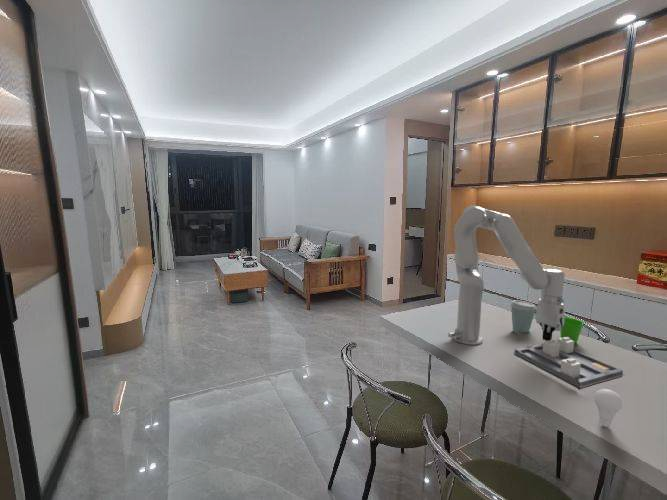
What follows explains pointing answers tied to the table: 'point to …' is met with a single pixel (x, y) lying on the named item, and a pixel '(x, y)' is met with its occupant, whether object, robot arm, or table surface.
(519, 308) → the disposable coffee cup
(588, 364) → the switch board
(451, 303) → the table surface
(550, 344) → the white stepped block
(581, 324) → the cup
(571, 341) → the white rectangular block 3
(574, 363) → the white stepped block
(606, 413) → the lightbulb
